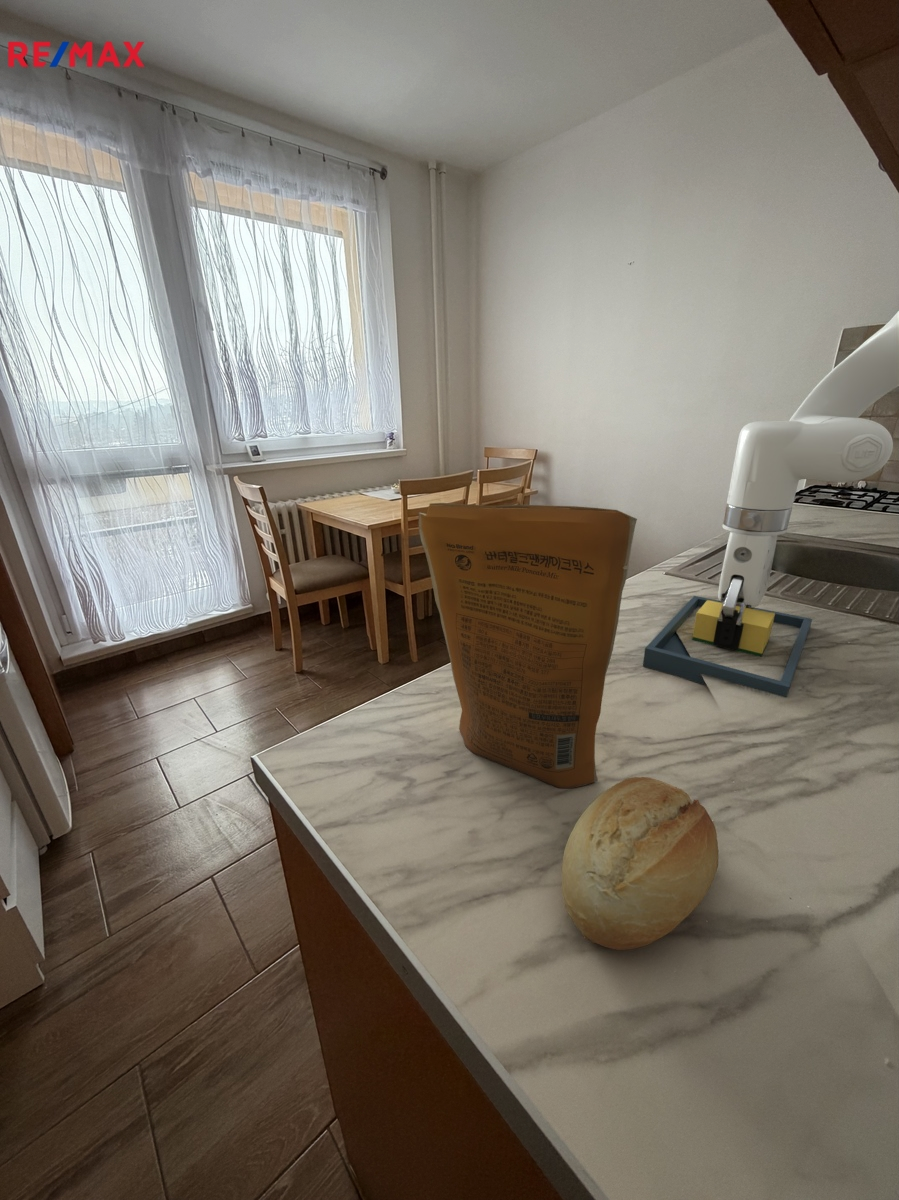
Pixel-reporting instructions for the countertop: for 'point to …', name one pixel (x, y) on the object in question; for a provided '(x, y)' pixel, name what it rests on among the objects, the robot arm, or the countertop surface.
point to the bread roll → (638, 863)
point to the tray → (675, 660)
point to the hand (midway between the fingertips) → (730, 637)
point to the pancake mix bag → (529, 626)
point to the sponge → (752, 633)
